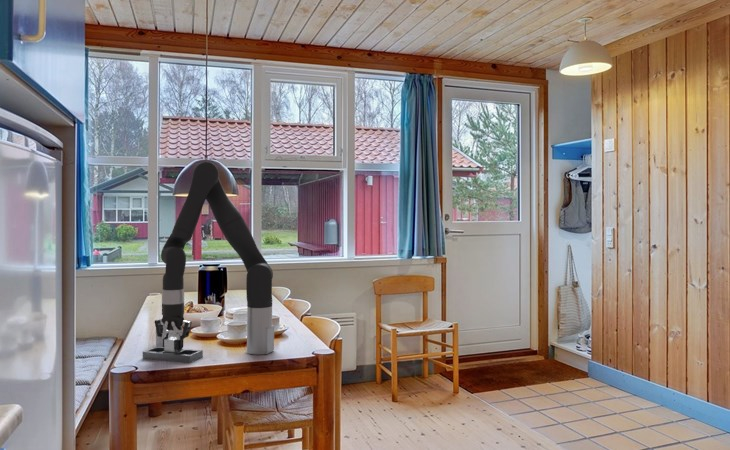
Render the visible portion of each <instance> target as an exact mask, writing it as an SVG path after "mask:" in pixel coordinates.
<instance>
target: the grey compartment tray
mask: <svg viewBox="0 0 730 450" xmlns="http://www.w3.org/2000/svg"><path fill="white" fill-rule="evenodd" d="M203 353H204V351H203V350H202V349H193V348H184V347H183V348H182V349H181V351H180V352H177V353H175V354H174V353H164V347H162V346H154V347H152V348H149V349H147V350H144V351H142V359H144V360H154V361H155V360H156V361H165V362H175V363H184V364H185V363H188V364H191V363H193V362H195V361H197V360H200V359H201V358H203V357H204V354H203Z"/></svg>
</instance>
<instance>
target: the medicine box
mask: <svg viewBox="0 0 730 450" xmlns="http://www.w3.org/2000/svg"><path fill="white" fill-rule="evenodd" d="M163 329H164V324H163ZM170 337H177V336H176V334H175V332H174V331H173V330H171V332H170V334H169V337H168V338H170ZM157 346H159V347H163V339H162V337H158V336H157V331H156V330H155V347H157Z"/></svg>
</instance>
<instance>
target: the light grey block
mask: <svg viewBox="0 0 730 450" xmlns="http://www.w3.org/2000/svg"><path fill="white" fill-rule="evenodd" d="M177 340H178V339H177V337H170V338H167V339H164V353H174V354H175V353H177V352H180V351H181V350H177Z"/></svg>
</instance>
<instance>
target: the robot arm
mask: <svg viewBox="0 0 730 450" xmlns="http://www.w3.org/2000/svg"><path fill="white" fill-rule="evenodd" d="M205 202H207V203H208V205H209V207H210V210H211V212H212V214H213V217H214V218H215V221H216V224H217V225H218V227H219V229H220V231H221V233H222V235H223V236H224V238H225V239H226V241H227V243H228V244H229V245H230V246H231V248H232V249H233V250H234V251H235V253H236V254H238V257H239V258H240V260H241V261H242V263H243V265H244V268H245V270H246V272H247V273H246V279H245V280H246V283H245V284H246V285H245V286H246V289H245V290H246V303H247V304H246V307H247V308H246V310H247V311H246V353H247V354H249V355H257V356H258V355H268V354H270V353H272V352H274V351H275V325H274V324H273V278H274V272H273V270H272V267H271V266H270V264H268V262H267V260H266V259H265V257H264V256H263V254H262V253H261V252H260V250H259V248H258V246H257V244H256V241H255V240H254V237H253V235H252V233H251V230H250V228H249V226H248V224H247V222H246V221H245V219H244V217H243V215H242V213H241V212H240V211H239V209H238V208H237V207H236V206H235V204H234V203H233V202H232V200H231V199H230V198H229V197H228V195H227V194H226V192H225V190H224V188H223V185H222V182H221V180H220V172H219V169H218V167H217V166H216V165H215V164H214V163H213V162H209V161H202V162H200V163H198V164H197V165H195V167H194V168H193V171H192V179H191V184H190V188H189V190H188V194H187V197H186V199H185V202H183V205H182V208H181V210H180V212H179V214H178V216H177V218H176V221H175V223H174V226H173V228H172V231H171V234H170V235H169V237H168V238H167V240H166V241H165V243H164V245H163V247H162V250H161V252H160V259H161V261H162V262H163V263H164V264H165V272H164V274H163V276H162V293H161V315H162V317H161V318H158V319H156V320H154V326H155V332H156V331H157V336H158V337H162V339H163V347H164V339H167V338H168V337H169V334H170V332H171V330H173V331H174V332H175V334H176V336H177V339H178V340H177V350H181V349H182V348H183V349H184V339H186V338H189V335H190V332H191V327H192V321H191V320H189V321H188V320H185V318H184V314H185V290H184V279H185V278H184V275H185V270H186V263H187V257H186V256H187V255H186V252H185V250H184V249H185V247H186V245H187V243H188V242H190V241H191V239H192V237H193V235H194V232H195V230H196V227H197V225H198V222H199V219H200V217H201V213H202V209H203V207H204V205H205ZM163 324H164V329H163ZM273 350H274V351H273Z"/></svg>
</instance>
